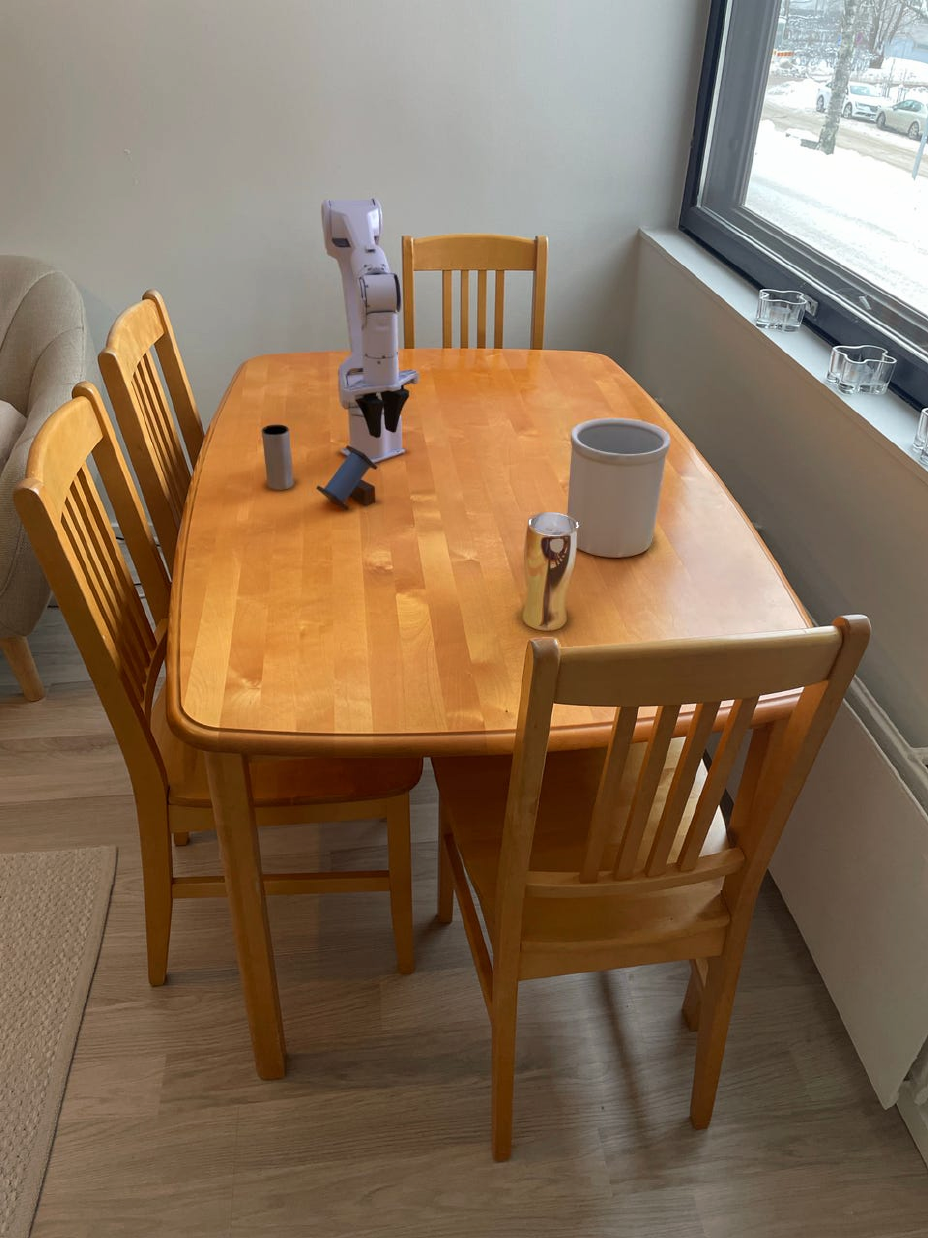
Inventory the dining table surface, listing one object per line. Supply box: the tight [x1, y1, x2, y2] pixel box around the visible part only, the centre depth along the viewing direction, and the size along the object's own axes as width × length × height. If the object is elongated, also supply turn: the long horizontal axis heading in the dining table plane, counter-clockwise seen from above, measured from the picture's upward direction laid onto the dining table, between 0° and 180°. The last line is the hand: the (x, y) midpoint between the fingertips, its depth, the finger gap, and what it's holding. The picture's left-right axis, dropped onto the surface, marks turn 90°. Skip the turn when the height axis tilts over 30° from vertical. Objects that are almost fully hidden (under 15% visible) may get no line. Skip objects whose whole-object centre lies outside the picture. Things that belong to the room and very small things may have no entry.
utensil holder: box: [566, 417, 671, 559], centre depth 142 cm, size 15×15×18 cm
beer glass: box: [522, 511, 578, 632], centre depth 123 cm, size 7×7×15 cm
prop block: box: [348, 478, 376, 507], centre depth 155 cm, size 2×6×3 cm, turn 44°
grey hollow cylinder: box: [261, 424, 295, 491], centre depth 157 cm, size 4×4×10 cm
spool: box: [315, 444, 378, 511], centre depth 152 cm, size 10×4×9 cm, turn 133°
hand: (382, 433), depth 153 cm, fingers open, 3 cm apart
